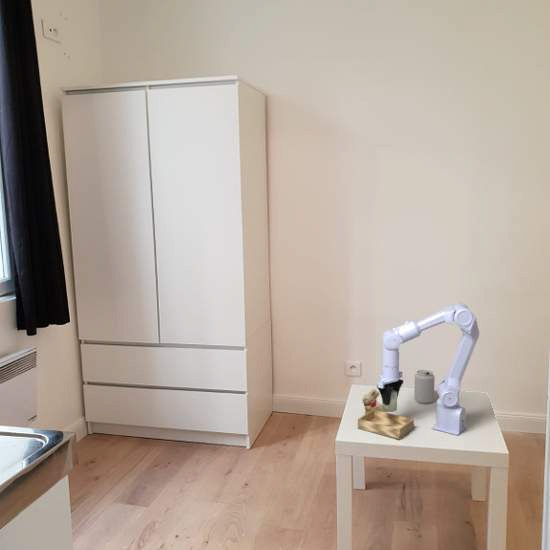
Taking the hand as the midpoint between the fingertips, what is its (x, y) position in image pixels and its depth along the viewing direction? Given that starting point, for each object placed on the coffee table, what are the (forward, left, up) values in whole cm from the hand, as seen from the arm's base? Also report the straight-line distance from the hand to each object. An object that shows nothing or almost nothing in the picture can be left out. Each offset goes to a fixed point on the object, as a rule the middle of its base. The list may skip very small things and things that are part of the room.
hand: (390, 401), depth 207 cm
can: (0, -29, -9) cm, 30 cm away
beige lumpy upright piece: (+10, -7, -9) cm, 15 cm away
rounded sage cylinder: (0, 0, -3) cm, 3 cm away
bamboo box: (0, +3, -9) cm, 9 cm away
